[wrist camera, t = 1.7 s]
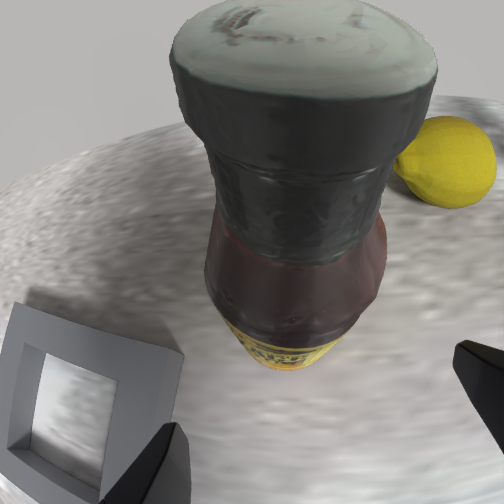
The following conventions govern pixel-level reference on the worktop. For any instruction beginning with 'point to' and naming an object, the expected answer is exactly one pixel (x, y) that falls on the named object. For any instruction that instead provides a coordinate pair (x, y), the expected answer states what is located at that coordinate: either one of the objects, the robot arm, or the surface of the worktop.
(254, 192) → the sauce bottle
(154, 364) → the socket frame
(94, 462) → the worktop surface
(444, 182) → the lemon
